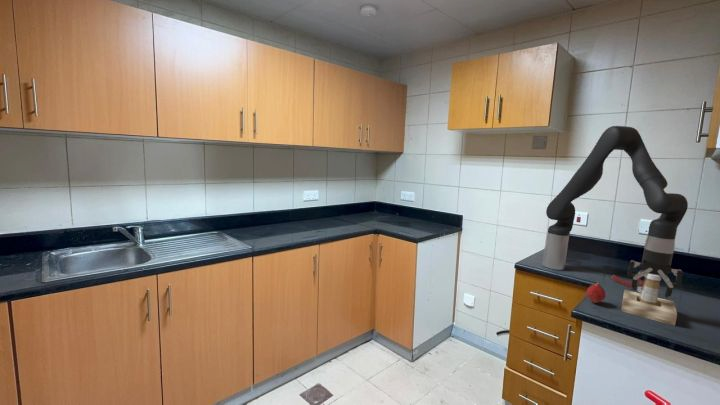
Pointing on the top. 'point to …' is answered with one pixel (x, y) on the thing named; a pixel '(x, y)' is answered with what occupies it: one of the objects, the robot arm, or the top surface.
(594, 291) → the onion
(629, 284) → the pliers
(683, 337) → the top surface
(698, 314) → the top surface
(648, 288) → the sprinkles bottle
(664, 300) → the holder
